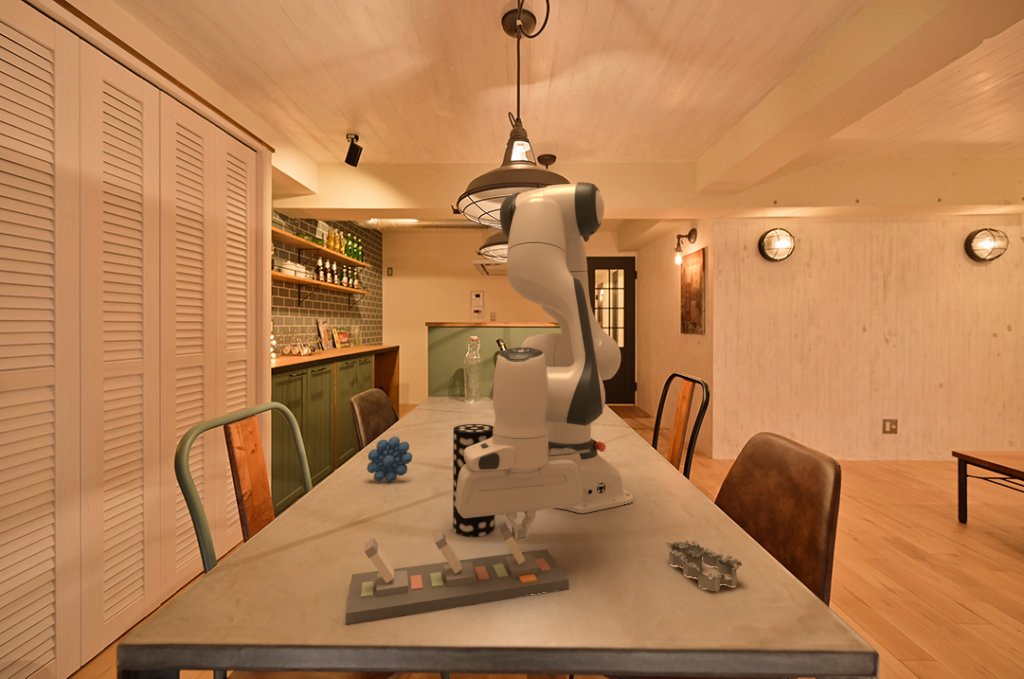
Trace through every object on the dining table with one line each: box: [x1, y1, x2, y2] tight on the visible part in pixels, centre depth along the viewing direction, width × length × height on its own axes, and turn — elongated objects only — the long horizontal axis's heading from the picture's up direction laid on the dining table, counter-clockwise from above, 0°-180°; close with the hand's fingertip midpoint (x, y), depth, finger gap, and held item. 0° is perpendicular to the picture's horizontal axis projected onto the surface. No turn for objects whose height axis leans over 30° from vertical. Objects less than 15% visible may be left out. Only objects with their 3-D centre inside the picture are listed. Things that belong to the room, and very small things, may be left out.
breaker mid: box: [433, 530, 462, 574], centre depth 69 cm, size 1×3×6 cm, turn 15°
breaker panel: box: [345, 548, 570, 625], centre depth 69 cm, size 32×10×2 cm, turn 105°
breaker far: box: [363, 537, 395, 583], centre depth 66 cm, size 1×3×6 cm, turn 15°
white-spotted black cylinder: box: [452, 423, 496, 538], centre depth 90 cm, size 8×8×20 cm
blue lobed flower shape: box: [366, 436, 413, 483], centre depth 118 cm, size 12×7×12 cm, turn 91°
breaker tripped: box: [497, 522, 525, 565], centre depth 71 cm, size 1×3×6 cm, turn 15°
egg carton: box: [665, 540, 743, 592], centre depth 73 cm, size 11×8×4 cm
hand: (519, 537), depth 71 cm, fingers closed
